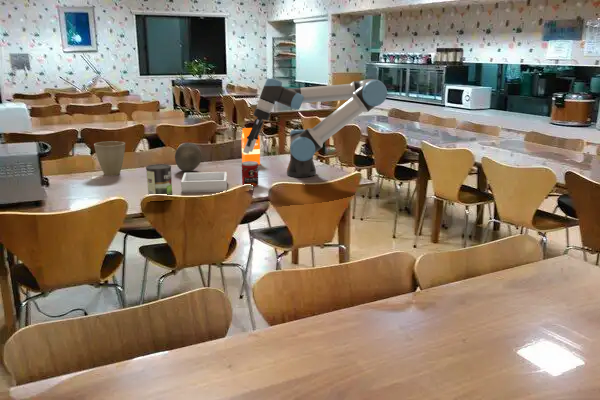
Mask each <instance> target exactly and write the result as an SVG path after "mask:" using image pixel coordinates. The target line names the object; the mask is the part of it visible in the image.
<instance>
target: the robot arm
mask: <svg viewBox="0 0 600 400" xmlns="http://www.w3.org/2000/svg"><path fill="white" fill-rule="evenodd" d="M282 85H283V82H282V81H281V80H278V79H275V78H273V77H268V78H266V80H265V82H264V85H263V87H262V90H261V93H260V95H259V96H260V97H259V99H257V100H256V103H257V104H256V108H255V109H254V112H253V116H254V117H256V119H255V120H254V121H253V125H252V127H251V128H252V129H251V132H250V134H249V136H247V139H248V140H247V142H246V145H245V148H244V150H243V152H244V153H247V154H249V151H250V152H252V151H253V148H254V146H255V143H256V141H257V140H258V139H259V138H260V132H261V130H262V127H263V125H264V121H269V119H270V117H271V113H272V111H273V109H274V107H275V103H276V102H277V103H279V104H281V105H284V106H285V107H286V106H287V107H288V108H291V109H294V110H296V111H297V110H300V109H301V106H302V104H306V103H307V104H308V103H322V102H333V101H346V102H344V103H343V104H342V105H340V106H339V107H338V108H337V109H335V110H334V111H333V112H331V113H330V114H329V115H327V116H326V117H324V119H322V120H321V121H320V122H318V123H317V124H316V125H315V126H313V127H312V128H309V127H308V128H306V129H291V131H290V134H289V138H290V139H289V142H290V143H289V144H290V145H289V157H290V158H289V161H288V162H289V163H288V166H287V168H286V175H287V176H290V177H294V178H309V177H308V176H311V177H314V176H313V175H315V174H316V175H317V169H316V165H315V162H314V155H315V153H317V152H319V151H320V150H321V149H322V148H323V144H324V143H325V142H326V141H328V139H330V138H331V137H333V136H334V135H335V134H337V133H338V132H339V131H340V130H341V129H343V128H344V127H345V126H347V125H348V124H350V123H351V122H352V121H353V120H355V119H356V118H357V117H358V116H360V114H361V115H362V113H368V112H370V111H371V110H373V109H374V108H375V107H378V106H381V105H382V104H384V102H385V101H386V99H387V96H388V90H387V89H388V88H387V87H386V85H385V84H384V82H383V81H381V80H379V79H376V78H367V79H362V80H355V81H354V80H353V81H352V82H350V83H345V84H331V85H318V86H309V87H308V86H307V87H305V86H304V87H297V88H296V87H295V88H293V87H290V88H289V87H288V88H286V87H284V86H282ZM258 136H259V138H258ZM256 139H257V140H256ZM316 175H315V176H316Z"/></svg>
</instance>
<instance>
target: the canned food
mask: <svg viewBox="0 0 600 400" xmlns="http://www.w3.org/2000/svg"><path fill="white" fill-rule="evenodd" d="M241 184H242V186H243V185H244V184H251V185H253V186H254V187H253V188H256V187H258V185H259V164H258V162H255V161H245V162H242V161H241Z"/></svg>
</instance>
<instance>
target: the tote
mask: <svg viewBox="0 0 600 400" xmlns="http://www.w3.org/2000/svg"><path fill="white" fill-rule="evenodd" d="M227 174H228V173H227V171H212V172H211V171H210V172H209V171H204V172H201V171H200V172H184V173H183V175H182V178H181V181H180V185H181V186H180V187H181V189H180V190H181V193H218V192H220V191H224V190H228V175H227Z"/></svg>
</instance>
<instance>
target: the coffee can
mask: <svg viewBox="0 0 600 400" xmlns="http://www.w3.org/2000/svg"><path fill="white" fill-rule="evenodd" d="M145 169H146V179H147V180H146V182H147V195H149V194H167V195H173V182H172V181H173V180H172V165H169V164H167V163H166V164H165V163H164V164H163V163H160V164H159V163H158V164H150V165H147V166H146V167H145Z"/></svg>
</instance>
